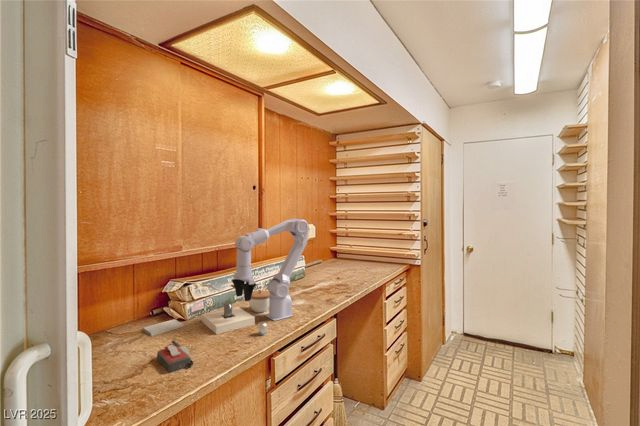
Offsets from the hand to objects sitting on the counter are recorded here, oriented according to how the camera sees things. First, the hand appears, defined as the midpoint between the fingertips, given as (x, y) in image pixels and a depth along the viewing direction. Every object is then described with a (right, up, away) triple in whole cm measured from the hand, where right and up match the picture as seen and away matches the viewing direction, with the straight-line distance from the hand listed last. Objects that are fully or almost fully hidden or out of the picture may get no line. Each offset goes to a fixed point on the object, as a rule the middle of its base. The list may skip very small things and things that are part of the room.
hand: (243, 298), depth 131 cm
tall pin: (-6, -10, 0) cm, 12 cm away
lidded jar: (+4, -10, +16) cm, 20 cm away
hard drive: (-30, -11, -6) cm, 33 cm away
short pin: (+10, -11, -10) cm, 17 cm away
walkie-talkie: (-16, -12, -29) cm, 35 cm away
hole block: (-6, -10, 0) cm, 12 cm away
